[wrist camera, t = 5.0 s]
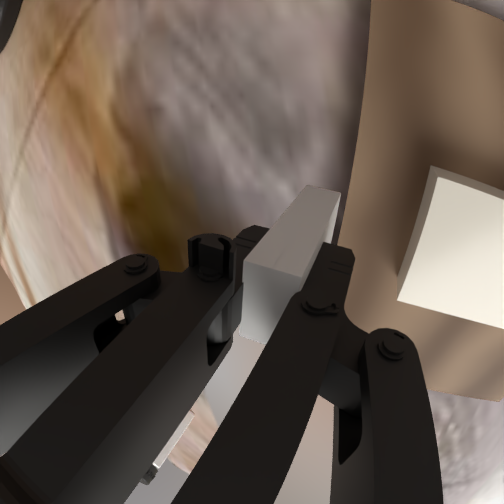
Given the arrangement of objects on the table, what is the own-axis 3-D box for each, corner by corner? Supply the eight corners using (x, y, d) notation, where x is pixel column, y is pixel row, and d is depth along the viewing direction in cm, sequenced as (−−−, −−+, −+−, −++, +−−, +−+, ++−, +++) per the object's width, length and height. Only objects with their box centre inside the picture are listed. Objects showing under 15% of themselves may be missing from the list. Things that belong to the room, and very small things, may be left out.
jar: (206, 424, 37) (162, 493, 27) (173, 421, 41) (131, 478, 32) (162, 380, 35) (106, 451, 25) (133, 382, 39) (84, 440, 30)
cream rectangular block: (397, 277, 15) (396, 300, 13) (430, 165, 12) (438, 176, 10) (526, 314, 12) (535, 337, 10) (570, 221, 9) (587, 239, 7)
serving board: (314, 338, 22) (307, 358, 20) (373, -6, 10) (371, -19, 8) (496, 382, 17) (499, 401, 15) (613, 105, 5) (631, 109, 4)
